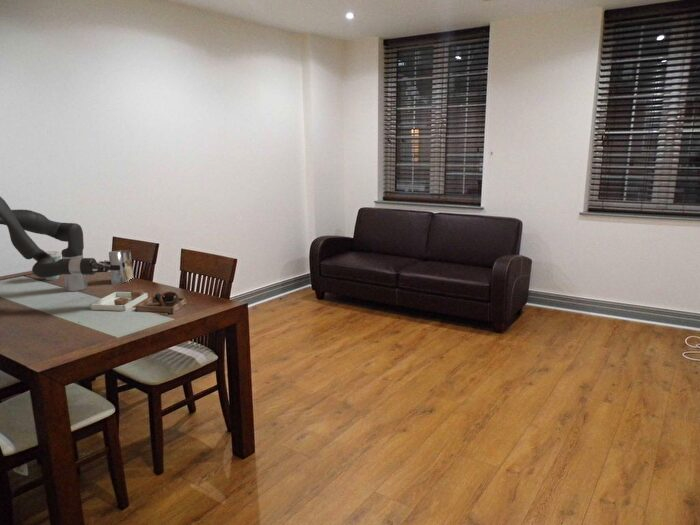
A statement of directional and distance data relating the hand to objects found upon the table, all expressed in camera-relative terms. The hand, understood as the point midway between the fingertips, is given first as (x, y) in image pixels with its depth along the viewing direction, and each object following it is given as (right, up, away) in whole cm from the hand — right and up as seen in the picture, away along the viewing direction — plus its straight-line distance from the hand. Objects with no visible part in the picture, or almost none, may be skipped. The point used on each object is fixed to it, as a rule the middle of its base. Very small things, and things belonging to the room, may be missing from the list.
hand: (122, 266), depth 225 cm
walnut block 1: (+1, -18, -3) cm, 19 cm away
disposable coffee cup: (-59, -7, +48) cm, 77 cm away
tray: (-3, -17, +4) cm, 18 cm away
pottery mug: (+20, -19, +1) cm, 27 cm away
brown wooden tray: (+18, -19, 0) cm, 26 cm away
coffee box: (-19, -8, +45) cm, 50 cm away
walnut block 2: (+3, -15, +10) cm, 18 cm away
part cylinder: (-3, -7, +1) cm, 8 cm away
